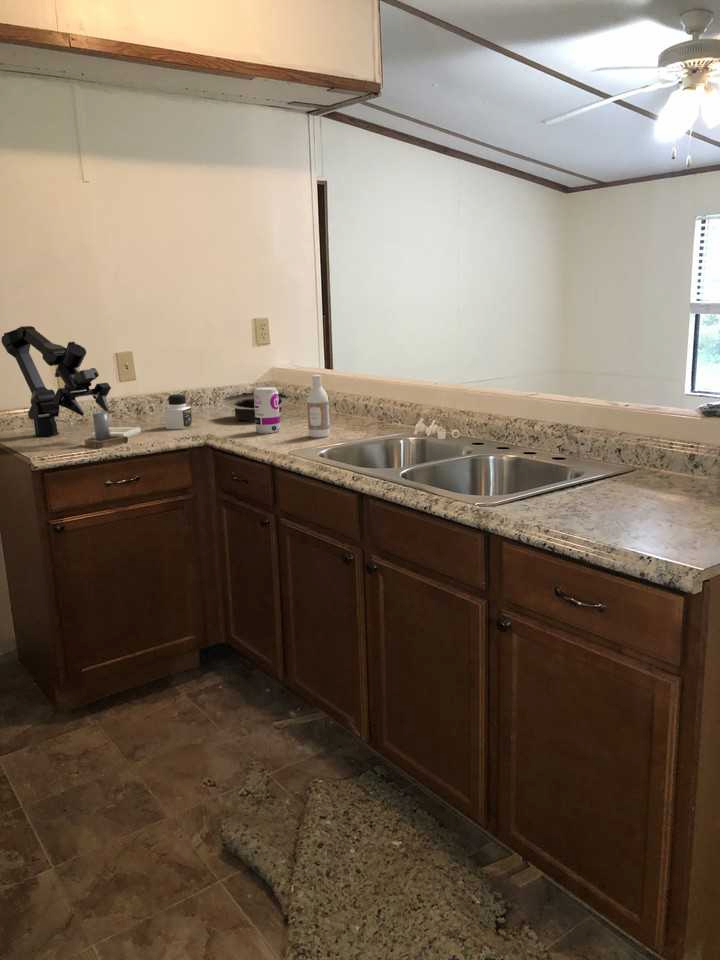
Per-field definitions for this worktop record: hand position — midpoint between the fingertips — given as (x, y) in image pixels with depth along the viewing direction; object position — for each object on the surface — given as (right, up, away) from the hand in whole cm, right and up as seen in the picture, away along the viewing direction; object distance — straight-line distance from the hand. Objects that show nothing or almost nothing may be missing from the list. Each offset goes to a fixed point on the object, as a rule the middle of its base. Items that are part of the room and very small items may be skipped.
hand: (95, 412), depth 253 cm
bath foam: (+73, -8, +4) cm, 73 cm away
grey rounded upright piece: (+2, -10, +1) cm, 10 cm away
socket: (+4, -10, 0) cm, 11 cm away
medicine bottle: (+21, -3, +29) cm, 36 cm away
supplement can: (+54, -5, +15) cm, 57 cm away
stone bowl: (+47, +1, +44) cm, 65 cm away
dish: (+2, -7, +15) cm, 16 cm away
